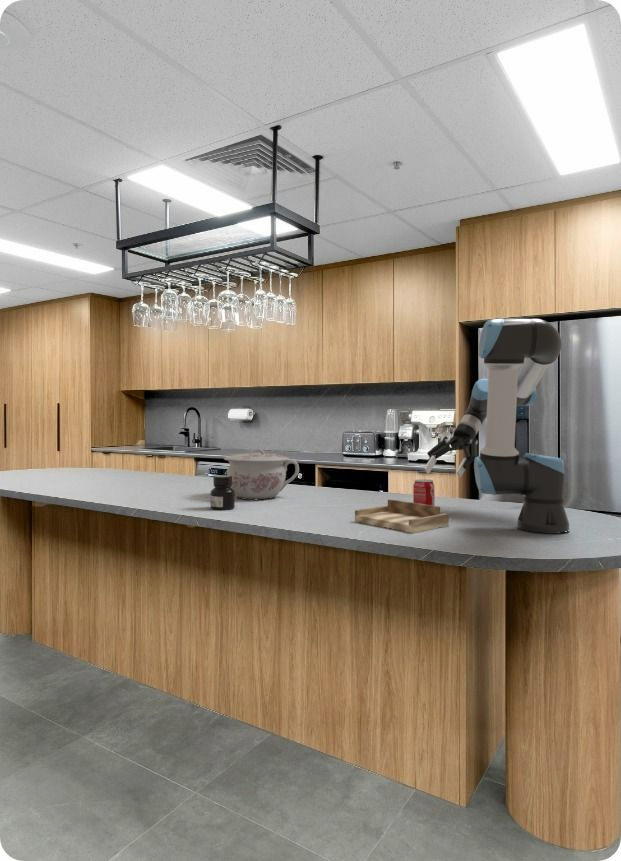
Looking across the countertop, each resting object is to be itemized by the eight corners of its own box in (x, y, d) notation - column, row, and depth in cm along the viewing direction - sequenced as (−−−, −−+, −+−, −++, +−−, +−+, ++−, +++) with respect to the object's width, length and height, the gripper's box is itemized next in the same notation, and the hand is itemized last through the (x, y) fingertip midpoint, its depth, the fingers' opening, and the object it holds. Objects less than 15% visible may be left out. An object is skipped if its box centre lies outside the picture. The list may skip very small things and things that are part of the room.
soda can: (434, 520, 200) (435, 481, 199) (412, 519, 201) (413, 481, 201) (434, 516, 207) (434, 479, 206) (413, 515, 208) (413, 478, 208)
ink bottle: (206, 507, 223) (206, 475, 222) (228, 505, 227) (229, 474, 227) (216, 511, 214) (216, 478, 214) (238, 509, 218) (238, 477, 218)
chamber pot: (209, 498, 246) (209, 448, 246) (252, 491, 269) (253, 445, 268) (262, 504, 230) (262, 451, 230) (303, 497, 253) (303, 448, 252)
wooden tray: (448, 525, 190) (448, 506, 189) (412, 533, 178) (413, 512, 177) (390, 515, 208) (391, 498, 207) (354, 521, 196) (355, 502, 195)
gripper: (501, 438, 212) (477, 483, 203) (443, 435, 231) (418, 476, 222) (493, 423, 209) (468, 468, 199) (435, 422, 227) (409, 463, 218)
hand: (442, 473), depth 210 cm, fingers open, 13 cm apart
